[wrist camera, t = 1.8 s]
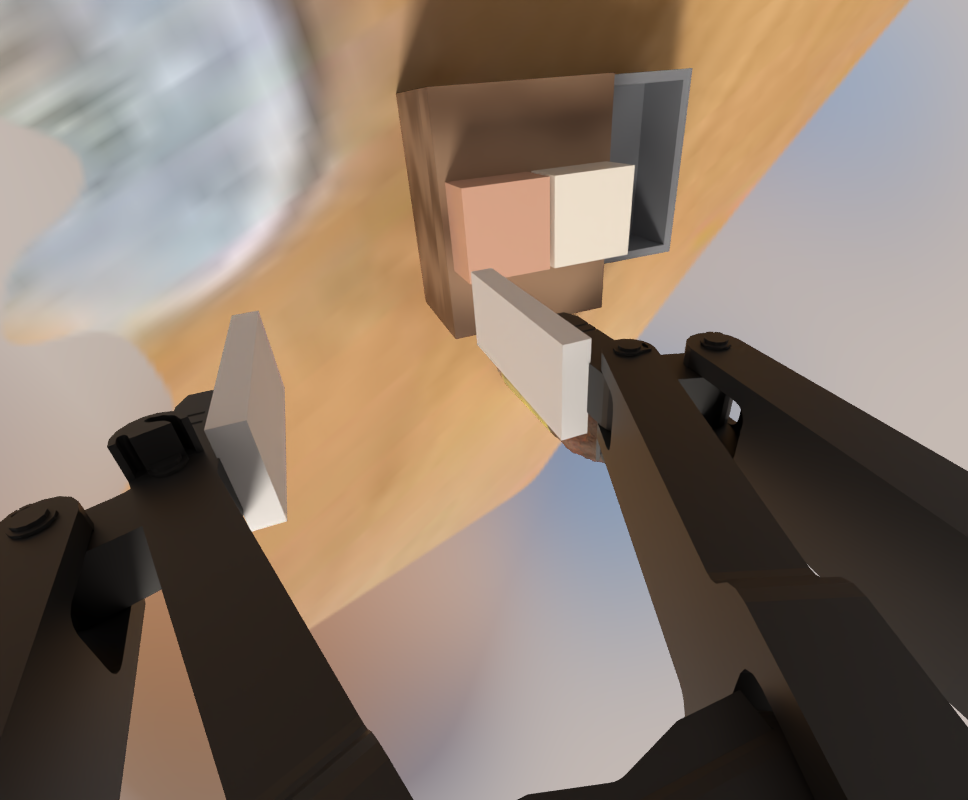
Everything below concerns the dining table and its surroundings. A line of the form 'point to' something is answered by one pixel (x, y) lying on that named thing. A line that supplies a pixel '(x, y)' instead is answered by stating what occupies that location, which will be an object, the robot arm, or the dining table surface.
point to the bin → (650, 151)
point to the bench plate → (500, 172)
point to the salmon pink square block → (500, 224)
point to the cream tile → (589, 211)
